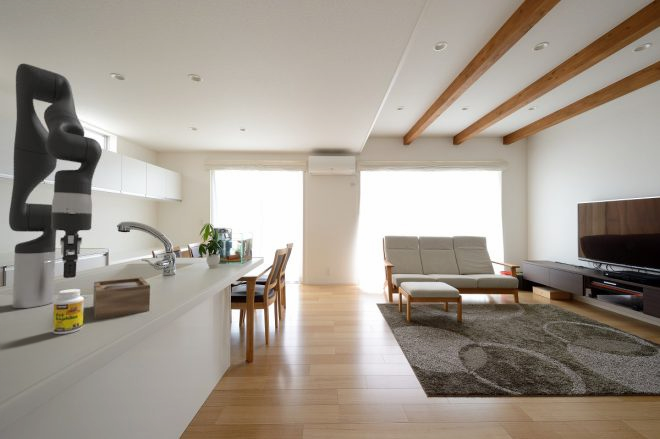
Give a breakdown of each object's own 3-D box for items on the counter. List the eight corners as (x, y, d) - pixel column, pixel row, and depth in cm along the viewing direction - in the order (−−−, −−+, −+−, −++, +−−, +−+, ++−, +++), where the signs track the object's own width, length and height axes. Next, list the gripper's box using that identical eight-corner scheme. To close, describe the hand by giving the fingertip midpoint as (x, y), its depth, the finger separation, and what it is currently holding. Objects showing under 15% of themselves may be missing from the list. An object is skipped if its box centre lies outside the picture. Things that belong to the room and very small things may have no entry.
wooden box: (93, 306, 90) (94, 281, 90) (140, 299, 99) (141, 277, 99) (95, 319, 78) (96, 291, 78) (149, 310, 87) (150, 285, 87)
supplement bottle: (49, 337, 66) (51, 294, 66) (56, 329, 71) (57, 289, 71) (80, 332, 69) (81, 291, 69) (84, 325, 74) (86, 287, 74)
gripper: (53, 211, 73) (51, 272, 73) (49, 210, 63) (46, 281, 62) (91, 213, 78) (88, 270, 78) (92, 211, 68) (90, 277, 67)
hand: (70, 275), depth 70 cm, fingers open, 8 cm apart
